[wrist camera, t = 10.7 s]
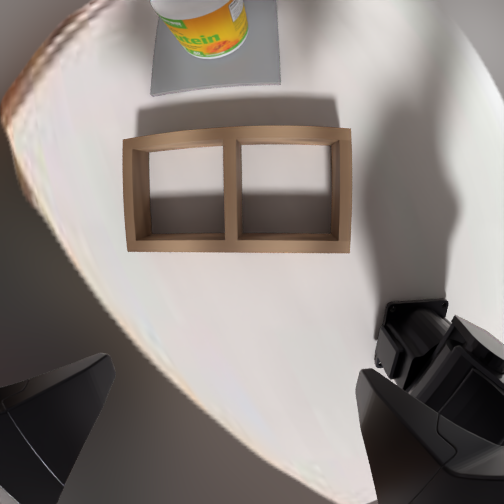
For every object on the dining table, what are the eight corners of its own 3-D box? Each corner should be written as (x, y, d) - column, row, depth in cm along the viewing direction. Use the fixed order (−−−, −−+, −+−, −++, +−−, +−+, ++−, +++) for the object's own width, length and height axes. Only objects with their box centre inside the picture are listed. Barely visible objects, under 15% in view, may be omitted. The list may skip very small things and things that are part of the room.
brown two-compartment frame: (341, 135, 18) (350, 128, 16) (340, 244, 20) (349, 253, 18) (140, 143, 20) (122, 139, 17) (143, 243, 22) (127, 251, 19)
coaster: (275, -7, 16) (275, -11, 15) (280, 84, 18) (280, 82, 17) (163, 6, 16) (161, 3, 16) (153, 96, 19) (150, 94, 18)
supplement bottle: (173, 59, 17) (114, -3, 8) (193, 9, 16) (152, -60, 7) (240, 64, 17) (212, -13, 8) (256, 13, 16) (242, -68, 6)
